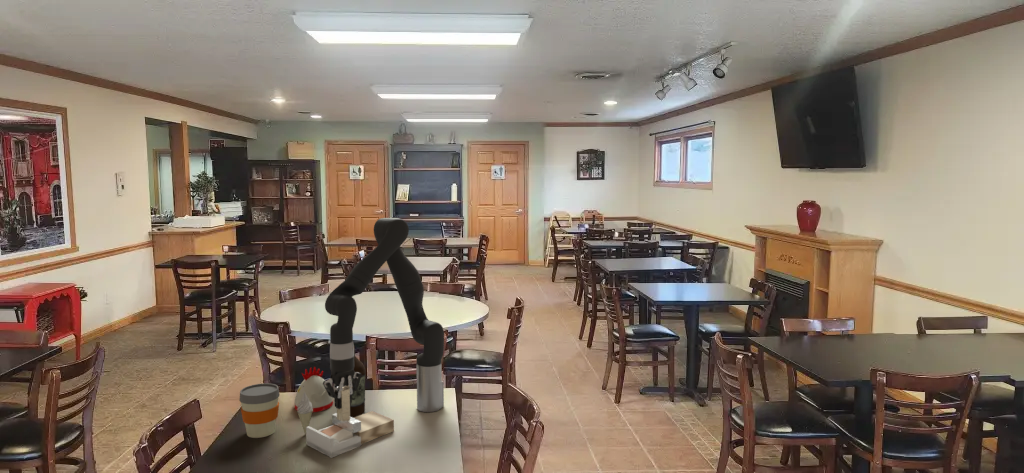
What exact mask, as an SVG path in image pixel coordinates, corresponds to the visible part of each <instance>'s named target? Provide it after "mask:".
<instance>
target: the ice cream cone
mask: <svg viewBox="0 0 1024 473" xmlns="http://www.w3.org/2000/svg"><path fill="white" fill-rule="evenodd" d="M297 410H298V411H297ZM297 410H296V411H297V412H296V413H297V414H298V417H299V422H300V423H301V425H302V426H301V427H302V429H303V432H304V435H306V427H308V426H310V422H311V417H312V414H313V412H312V411H313V409H312V403H311V402H309V399H308V397H307V395H306V394H305V392H304V394H303V396H302V398H301V402H300V403H299V405H298V408H297Z"/></svg>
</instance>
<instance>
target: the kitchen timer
mask: <svg viewBox="0 0 1024 473" xmlns="http://www.w3.org/2000/svg"><path fill="white" fill-rule="evenodd" d="M320 371H321V369H320V368H316V366H313V368H312V367H310V368H309V371H308V369H307V368H305V370H304V373H303V372H301V375H302V377H303V381H302V382H301V383H300V385H299V387H298V388H297V391H296V394H295V397H294V410H295V411H298V410H297V408H298V405H299V403H300V402H301V398H302V396H303V394H304V392H305V394H306V395H307V397H308V399H309V402H311V403H312V409H313V411H312V413H317V412H322V411H325V410H328V409H330V408H332V407H333V405H334V398H333V397H330V396H329V395H328V393H327V391H326V389H325V387H324V385H323V382H324V381H326V380H325V379H324V378H323V375H324V371H323V370H322V371H321V372H320Z"/></svg>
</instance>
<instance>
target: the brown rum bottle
mask: <svg viewBox="0 0 1024 473" xmlns="http://www.w3.org/2000/svg"><path fill="white" fill-rule="evenodd" d="M355 348H356V347H355V345H354V371H355V372H359V373H361V374H362V376H361V379H360V382H359V386H358V389H357V391H354V392H353V393H352V403H351V405H350V417H352V418H354V417H357V416H360V415H362V414H365V412H366V408H365V407H366V375H367V374H366V373H367V372H366V368H365V367H366V366H365V365H364V363H363V362H362V361H361V360H360V359H358V357H357V356H356V349H355ZM352 380H353V378H352ZM352 380H351V381H352ZM343 387H344V386H343Z"/></svg>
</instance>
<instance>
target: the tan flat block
mask: <svg viewBox="0 0 1024 473" xmlns="http://www.w3.org/2000/svg"><path fill="white" fill-rule="evenodd" d="M353 418H355V419H357V420H359V421H361V431H358V432H355V433H353V434H355V435H357V436H360V437H361V445H363V444H365V443H368V442H370V441H373V440H375V439H377V438H381V437H383V436H385V435H388V434H391V433H392V432H394V431H395V424H394V423H395V420H394V419H393V418H390V417H387V416H385V415H384V414H381V413H378V412H375V411H373V410H371V411H368V412H366V413H365V412H364V413H363V414H362V415H360V416H357V417H353ZM338 427H339V426H338ZM340 428H341V427H340ZM345 430H346V429H345Z"/></svg>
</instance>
